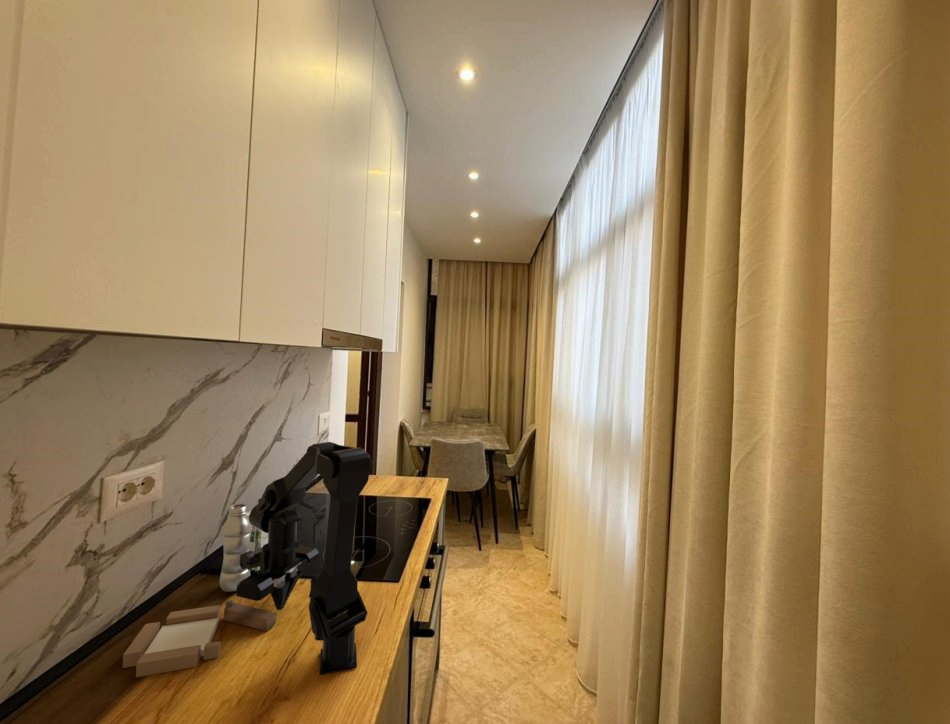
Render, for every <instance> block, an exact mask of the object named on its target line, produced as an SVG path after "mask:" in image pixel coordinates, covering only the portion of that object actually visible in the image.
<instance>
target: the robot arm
mask: <svg viewBox="0 0 950 724" xmlns="http://www.w3.org/2000/svg"><path fill="white" fill-rule="evenodd" d="M371 468H372V458H371V455H370V454H369V453H368V452H367V451H366V449H364V448H362V447H354V446H348V445H342V444H341V445H340V444H338V443H335V442H331V441H326V442H325V441H324V442H318V443H313V444H311V445H309V446H308V447H307V449H306V452H305V453H304V454H303V456H302V457H301V458H300V459H299V460H298V461H297V462H296V464H295V465H294V466H293V467H292V468H291V469H290V470H289V471H288V472H287V474H286V475H285V476H283V477H280V478H278V479H276V480H273V481H272V482H271V483H269V484H268V485H267V486H266V487H265V490H264V491H263V493H262V495H261V497H260V498H258V499H257V504H256V505H254V507H253V508H252V509H251V510H250V511H251V512H250V511H249V512H250V515H249V522H250V523H251V525H253V526H255V527H256V528H258V529H260V530H262V531H263V532H265V533H268V543H267V544H265V545H263V547H261V548H259V549H256V550H255V551H249V552H245V553H243V554H241V555H240V562H239V563H240V567H241V568H242V569H246V568H247V569H248V570H250V571H252V570H251V569H252V568H256V567H260V570H259V571H266V573H264V574H263V575H262V574H258V573H252V574H250V576H249V577H247V578H245V579H244V580H242V581H240V582H239V583H238V584H237V591H235V592H236V595H235V596H236V597H239V598H243V599H246V600H250V601H255V602H258V601H261V600H264V599H265V598H266V597H268V596H269V595H271V598H272V601H273V603H274V607H275V609H276V610H277V611H281V610H283V609H284V608H285V606H286V603H287V601H288V600H289V598H290V595H291V594H292V592H293V589H294V588H295V586H296V584H297V583H298V581H299V580H300V577H301V576H302V575H303V571H300V570H298V568H297V567H298V566H299V565H301V564H302V563H304V562H305V560H307V565H310V566H313V565H314V564H317V562H319V561H320V552H319V551H318V549H317V548H316V547H310V546H305V545H301V542H302V541H301V540H300V539H297V531H298V530H297V527H298V526H297V525H298V522H300V521H302V517H301V514H299V513H298V511H296V509H292V510H290V509H288V508H290V507H294V506H298V505H300V504H301V503H302V502H303V500H304V499H305V497H306V495H307V491H306V488H307V487H308V486H309V485H310V484H311V483H312V482H313V481H314V480H316V477H317V476H319V475H320V476H322V483H323V485H324V487H325V488H326V490H327V492H328V494H329V495H330V496H329V498H330V499H329V511H328V520H327V529H326V541H325V548H324V549H325V550H324V560H323V569H322V571H321V572H319V573H317V574H314V575H312V576H311V579H310V591H309V594H308V598H309V603H308V611H309V620H310V626H311V629H312V630H311V631H312V633H313V635H314V640H316V641H322V648H321V649H320V656H319V669H318V670H319V671H318V672H319V673H318V674H319V675H321V676H322V675H327V674H331V673H336V672H341V671H346V670H350V669H355V668H357V667H358V660H357V659H358V657H357V643H356V642H355V639H356V626H357V625H359V624H361V623H364V622H365V621H366V619H367V616H368V610H367V608H366V605H365V603H364V601H363V598H362V597H361V594H360V591H359V589H358V579H357V578H356V576H355V574H354V572H353V571H352V557H353V548H354V539H355V529H356V518H357V509H358V508H357V507H358V500H359V496H360V494H361V492H362V491H363V490H364V488H365V487H366V485H367V484H368V481H369V477H370V474H371Z"/></svg>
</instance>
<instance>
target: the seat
mask: <svg viewBox="0 0 950 724" xmlns="http://www.w3.org/2000/svg"><path fill="white" fill-rule="evenodd" d="M220 611H221V605H220V604H219V605H212V606H205V607H199V608H198V607H197V608H191V609H190V608H189V609H183V610H177V611H171V612H170V613H169V614H168V616H167V617H166V623H165V625H162V626H161V622H160V621H157V622H151V623H145V625H143V627H142V628H141V629H140V631H139V632H138V634H137V635H136V636H135V638H134V639H133V640H132V642H131V643H130V644H129V646H128V647H127V649H126V650H125V652H124V653H123V654H122V655H123V656H122V669H125V668H131V667H135V669H136V670H135V678H140V677H145V676H146V677H147V676H152V675H158V674H163V673H168V672H175V671H179V670H184V669H185V670H186V669H190V668H197V666H198V663H199V661H200V659H201V657H203V661H207V660H212V659H213V660H214V659H218V658H219V657H220V655H221V641H220V640H219V641H214V642H211V641H212V639H213V637H214V635H215V633H216V630H217V628H218V626H219V623H220V615H221V614H220V613H221V612H220Z"/></svg>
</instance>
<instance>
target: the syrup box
mask: <svg viewBox="0 0 950 724" xmlns="http://www.w3.org/2000/svg"><path fill="white" fill-rule="evenodd" d="M250 512H251V510H250V511H248V512H247V513H246V514H245V515H246V516H247V518H248V519H249V515H250ZM267 543H268V533H265V532H263V531H262V530H260V529H258V528H256V527H255V526H253V525H252V530H251V536H250V541H249V548H248V549H249V551H255V550H256V549H259V548H261V547H263V545H265V544H267ZM252 570H255V571H254V572H256V571H257V572H259V571H261V570H260V567H256V568H252ZM252 570H251V571H252ZM258 570H259V571H258Z"/></svg>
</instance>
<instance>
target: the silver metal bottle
mask: <svg viewBox="0 0 950 724" xmlns="http://www.w3.org/2000/svg"><path fill="white" fill-rule="evenodd" d="M246 513H248V512H247V504H243V503H238V504H237V503H235V504H232V505H230V506H229V511H228V516H229V518H228V519H226V521H225V522H224V525H223V527H222V528H221V536H222V544H223V560H222V566H221V572H220V576H219V587H220V589H222V591H223V592H226V593H232V592H233V593H234V592H237V584H238V583H239V582H240V581H242V580H244V579H245V578H247V577H249V576H251V570H248V569H247V568H246V569H242V568H241V567H240V563H239V562H240V555H241V554H243V553H245V552H249V549H248V548H249V541H250V536H251V530H252V525H251V523H250V522H249V519H248V518H247V516H246V515H245V514H246Z"/></svg>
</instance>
